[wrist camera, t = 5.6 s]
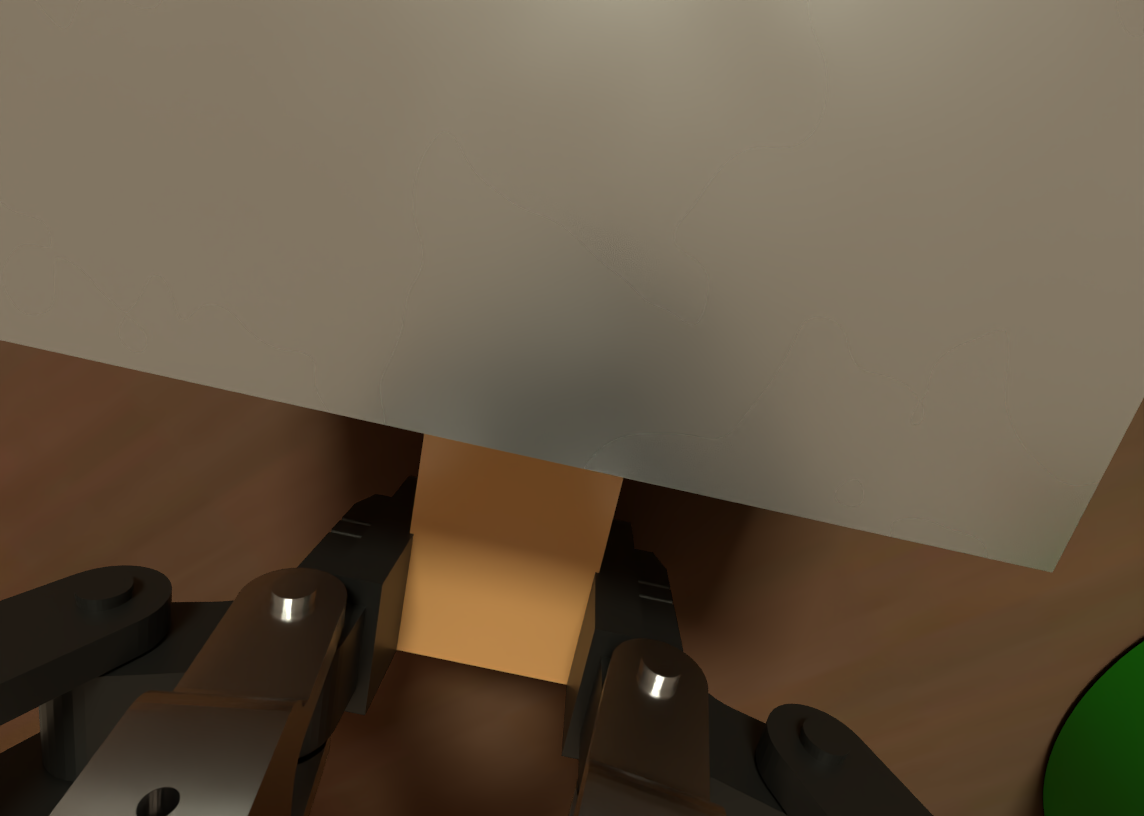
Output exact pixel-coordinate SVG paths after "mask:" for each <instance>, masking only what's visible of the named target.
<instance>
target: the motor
mask: <svg viewBox="0 0 1144 816" xmlns="http://www.w3.org/2000/svg"><path fill="white" fill-rule="evenodd" d="M1043 806H1044V815H1045V816H1144V641H1143V642H1142V643H1140V644H1139V645H1137V646H1136V647H1135V648H1133V649H1132V650H1131V651H1130V652H1128V653H1127V654H1126V655H1125V656H1123V657H1122V658H1121V659H1120V660H1119V661H1118V662H1116V663H1115V664H1114V665H1113V666H1112V667H1111V668H1110V669H1109V670H1108V671H1107V672H1106V673H1105V674H1104V675H1103V676H1102V677H1101V678H1100V679H1099V680H1098V681H1097V682H1096V683H1095V684H1094V685H1093V686H1092V687H1091V689H1090V690H1089V691H1088V692H1087V693H1086V694H1085V696H1084V697H1083V698H1082V699H1081V701H1080V702H1079V703H1078V705H1077V706H1076V707H1075V709H1074V710H1073V712H1072V713H1071V715H1070V716H1069V718H1068V719H1067V721H1066V723H1065V725H1064V726H1063V728H1062V730H1061V732H1060V734H1059V736H1058V738H1057V740H1056V742H1055V745H1054V747H1053V750H1052V752H1051V755H1050V758H1049V762H1048V765H1047V769H1046V774H1045V779H1044V789H1043Z"/></svg>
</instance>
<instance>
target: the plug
mask: <svg viewBox="0 0 1144 816" xmlns="http://www.w3.org/2000/svg"><path fill="white" fill-rule="evenodd" d="M622 481H623V477H618V476H614V475H609V474H605V473H600V472H596V471H591V470H587V469H582V468H577V467H573V466H568V465H564V464H559V463H555V462H550V461H546V460H541V459H537V458H532V457H528V456H523V455H519V454H514V453H510V452H505V451H501V450H496V449H492V448H487V447H482V446H478V445H473V444H469V443H464V442H460V441H455V440H451V439H446V438H442V437H437V436H433V435H428V434H424V439H423V446H422V453H421V460H420V466H419V473H418V480H417V487H416V494H415V501H414V508H413V514H412V521H411V528H410V533H411V534H414V535H413V542H412V549H411V556H410V562H409V569H408V576H407V583H406V589H405V596H404V603H403V610H402V616H401V623H400V630H399V637H398V643H397V650H401V651H405V652H410V653H415V654H420V655H425V656H430V657H435V658H439V659H444V660H449V661H454V662H459V663H464V664H469V665H473V666H478V667H483V668H488V669H493V670H498V671H503V672H507V673H512V674H517V675H522V676H527V677H532V678H537V679H541V680H546V681H551V682H556V683H561V684H566V685H567V682H568V678H569V674H570V670H571V666H572V662H573V658H574V654H575V650H576V646H577V642H578V638H579V634H580V630H581V627H582V623H583V619H584V615H585V611H586V607H587V603H588V599H589V595H590V591H591V587H592V583H593V579H594V575H595V572H597V573H599V571H600V567H601V563H602V559H603V556H604V552H605V548H606V544H607V540H608V536H609V532H610V528H611V524H612V520H613V517H614V513H615V509H616V505H617V501H618V497H619V493H620V489H621V485H622Z"/></svg>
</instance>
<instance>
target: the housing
mask: <svg viewBox="0 0 1144 816" xmlns="http://www.w3.org/2000/svg"><path fill="white" fill-rule="evenodd" d="M0 340H3V341H7V342H12V343H16V344H21V345H25V346H30V347H35V348H39V349H44V350H48V351H53V352H57V353H62V354H66V355H71V356H75V357H80V358H84V359H89V360H93V361H98V362H102V363H107V364H111V365H116V366H120V367H125V368H130V369H134V370H139V371H143V372H148V373H152V374H157V375H161V376H166V377H170V378H175V379H179V380H184V381H188V382H193V383H197V384H202V385H206V386H211V387H216V388H220V389H225V390H229V391H234V392H238V393H243V394H247V395H252V396H256V397H261V398H265V399H270V400H274V401H279V402H283V403H288V404H292V405H297V406H301V407H306V408H311V409H315V410H320V411H324V412H329V413H333V414H338V415H342V416H347V417H351V418H356V419H360V420H365V421H369V422H374V423H378V424H383V425H387V426H392V427H396V428H401V429H406V430H410V431H415V432H419V433H424V434H428V435H433V436H437V437H442V438H446V439H451V440H455V441H460V442H464V443H469V444H473V445H478V446H482V447H487V448H492V449H496V450H501V451H505V452H510V453H514V454H519V455H523V456H528V457H532V458H537V459H541V460H546V461H550V462H555V463H559V464H564V465H568V466H573V467H577V468H582V469H587V470H591V471H596V472H600V473H605V474H609V475H614V476H618V477H623V478H627V479H632V480H636V481H641V482H645V483H650V484H654V485H659V486H663V487H668V488H672V489H677V490H682V491H686V492H691V493H695V494H700V495H704V496H709V497H713V498H718V499H722V500H727V501H731V502H736V503H740V504H745V505H749V506H754V507H758V508H763V509H768V510H772V511H777V512H781V513H786V514H790V515H795V516H799V517H804V518H808V519H813V520H817V521H822V522H826V523H831V524H835V525H840V526H844V527H849V528H853V529H858V530H863V531H867V532H872V533H876V534H881V535H885V536H890V537H894V538H899V539H903V540H908V541H912V542H917V543H921V544H926V545H930V546H935V547H939V548H944V549H948V550H953V551H958V552H962V553H967V554H971V555H976V556H980V557H985V558H989V559H994V560H998V561H1003V562H1007V563H1012V564H1016V565H1021V566H1025V567H1030V568H1034V569H1039V570H1044V571H1048V572H1053V570H1054V568H1055V566H1056V564H1057V562H1058V560H1059V559H1060V557H1061V555H1062V553H1063V551H1064V549H1065V547H1066V545H1067V543H1068V541H1069V539H1070V537H1071V536H1072V534H1073V532H1074V530H1075V528H1076V526H1077V524H1078V522H1079V520H1080V518H1081V516H1082V514H1083V513H1084V511H1085V509H1086V507H1087V505H1088V503H1089V501H1090V499H1091V497H1092V495H1093V493H1094V491H1095V490H1096V488H1097V486H1098V484H1099V482H1100V480H1101V478H1102V476H1103V474H1104V472H1105V470H1106V469H1107V467H1108V465H1109V463H1110V461H1111V459H1112V457H1113V455H1114V453H1115V451H1116V449H1117V447H1118V446H1119V444H1120V442H1121V440H1122V438H1123V436H1124V434H1125V432H1126V430H1127V428H1128V426H1129V424H1130V423H1131V421H1132V419H1133V417H1134V415H1135V413H1136V411H1137V409H1138V407H1139V405H1140V403H1141V401H1142V400H1143V398H1144V0H0Z"/></svg>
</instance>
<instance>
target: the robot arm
mask: <svg viewBox="0 0 1144 816" xmlns="http://www.w3.org/2000/svg"><path fill="white" fill-rule="evenodd" d="M417 480H418V477H414V476H409V477H408V478H407V479H406V480H405V482H404V483H403V484H402V486H401V487H400V488H399V489H398V491H397V492H396V493H395V494H394V496H393V497H388V496H383V495H379V494H375V495H373V496H371V497H369V498H367V499H364V500H362V501H360V502H358V503H355V504H354V505H353V506H352V508H351V509H350V510H349V511H348V512H347V513H346V514H345V515H344V516H343V517H342V521H341V520H340V521H339V522H338V523H337V524H336V525H335V526H334V527H333V528H332V531H331V532H329V533H328V534H327V535H326V536H325V537H324V538H323V539H322V541H321V542H320V543H319V544H318V545H317V546H316V547H315V548H314V549H313V550H312V552H311V553H310V554H309V555H308V556H307V557H306V558H305V559H304V560H303V561H302V563H301V564H300V565H299V566H298V567H297V568H288V569H281V570H276V571H272V572H269V573H266V574H264V575H261V576H259V577H257V578H255V579H254V580H252V581H250V582H249V583H248V584H247V585H246V586H244V588H243V589H242V590H241V591H240V592H239V594H238V595H237V597H236V598H235V600H234V601H223V602H172V586H171V582H170V581H169V579H168V578H167V577H166V576H165V575H164V574H162V573H160V572H158V571H156V570H153V569H150V568H146V567H141V566H109V567H103V568H97V569H92V570H88V571H84V572H81V573H78V574H75V575H72V576H69V577H66V578H63V579H61V580H58V581H55V582H52V583H49V584H47V585H44V586H41V587H38V588H35V589H33V590H30V591H27V592H24V593H21V594H18V595H16V596H13V597H10V598H7V599H4V600H2V601H0V725H2V724H4V723H6V722H8V721H10V720H12V719H14V718H16V717H18V716H20V715H22V714H24V713H26V712H28V711H30V710H32V709H34V708H36V707H38V706H39V719H40V732H39V733H38V734H36V735H34V736H32V737H30V738H28V739H26V740H24V741H23V742H21V743H19V744H17V745H15V746H13V747H11V748H9V749H8V750H6V751H4V752H2V753H0V816H309V815H310V812H311V808H312V805H313V802H314V799H315V795H316V792H317V789H318V786H319V782H320V779H321V776H322V773H323V769H324V766H325V763H326V760H327V756H328V753H329V748H330V741H331V734H332V733H333V731H334V729H335V728H336V726H337V724H338V722H339V720H340V718H341V716H342V714H343V713H344V711H347V712H352V713H356V714H361V715H365V714H366V712H367V710H368V708H369V706H370V704H371V702H372V700H373V698H374V696H375V693H376V691H377V689H378V687H379V685H380V683H381V681H382V679H383V677H384V675H385V673H386V671H387V669H388V667H389V665H390V663H391V661H392V659H393V656H394V654H395V652H396V650H397V643H398V637H399V630H400V623H401V616H402V610H403V603H404V596H405V589H406V583H407V576H408V569H409V562H410V556H411V549H412V542H413V535H414V534H411V533H410V528H411V521H412V514H413V508H414V501H415V494H416V487H417ZM669 589H670V584H669V580H668V575H667V570H666V568H665V567H664V566H663V564H662V563H661V562H660V561H659V559H658V558H657V557H656V556H655V554H654V553H653V552H648V551H643V550H639V549H634V543H633V534H632V526H631V523H630V522H626V521H621V520H616V519H613V520H612V524H611V528H610V532H609V536H608V540H607V544H606V548H605V552H604V556H603V559H602V563H601V567H600V571H599V573H597V572H595V575H594V579H593V583H592V587H591V591H590V595H589V599H588V603H587V607H586V611H585V615H584V619H583V623H582V627H581V630H580V634H579V638H578V642H577V646H576V650H575V654H574V658H573V662H572V666H571V670H570V674H569V678H568V682H567V686H566V700H565V715H564V729H563V743H562V756H565V757H570V758H575V759H579V769H578V779H577V783H576V787H575V790H574V794H573V797H572V801H571V805H570V809H569V813H568V816H933V815H932V814H931V813H930V812H929V811H928V810H927V809H926V808H925V807H924V806H923V804H922V803H921V802H920V801H919V800H918V799H917V798H916V797H915V796H914V795H913V794H912V793H911V792H910V791H909V790H908V789H907V788H906V786H905V785H904V784H903V783H902V782H901V781H900V780H899V779H898V778H897V777H896V776H895V775H894V774H893V773H892V772H891V771H890V770H889V768H888V767H887V766H886V765H885V764H884V763H883V762H882V761H881V760H880V759H879V758H878V757H877V756H876V755H875V754H874V753H873V752H872V750H871V749H870V748H869V747H868V746H867V745H866V744H865V743H864V742H863V741H862V740H861V739H860V738H859V737H858V736H857V735H856V734H855V733H854V732H853V731H852V730H851V729H849V728H848V727H847V726H846V725H844V724H843V723H842V722H840V721H839V720H837V719H836V718H834V717H832V716H830V715H829V714H827V713H825V712H822V711H820V710H818V709H815V708H812V707H809V706H805V705H800V704H785V705H781V706H778V707H777V708H775V709H774V710H773V711H772V712H771V713H770V715H769V717H768V719H767V722H766V724H765V723H763V722H761V721H759V720H757V719H754V718H752V717H750V716H748V715H746V714H744V713H741V712H739V711H737V710H735V709H733V708H731V707H729V706H727V705H725V704H723V703H722V702H720V701H718V700H717V699H715V698H714V697H713V696H711V695H710V694H709V693H708V684H707V680H706V677H705V675H704V673H703V671H702V670H701V668H700V667H699V666H698V664H697V663H696V662H695V661H694V660H693V659H692V658H691V657H689V656H688V655H687V654H686V653H684V652H683V648H682V643H681V638H680V633H679V628H678V623H677V618H676V614H675V609H674V605H673V604H672V603H673V599H672V594H671V590H669Z"/></svg>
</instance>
